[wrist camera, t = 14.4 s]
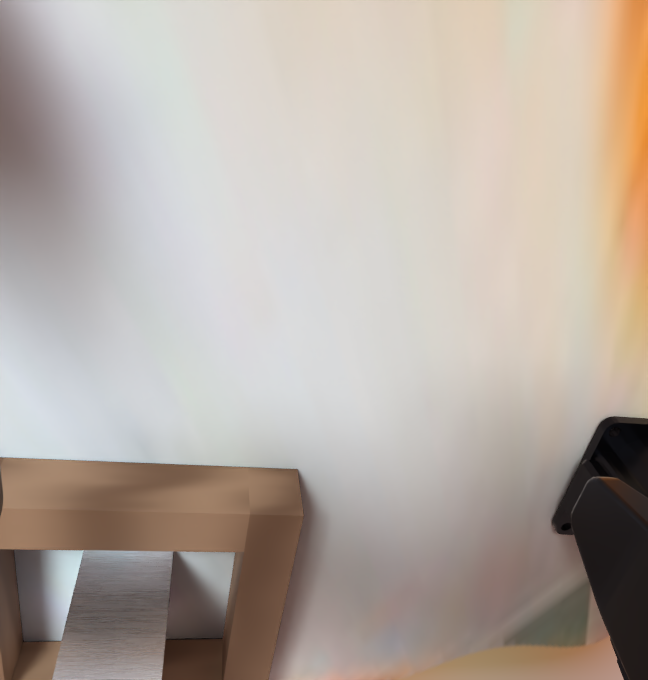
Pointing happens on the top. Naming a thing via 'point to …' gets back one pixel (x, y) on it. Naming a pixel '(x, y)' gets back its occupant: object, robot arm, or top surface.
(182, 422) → the top surface
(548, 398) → the top surface
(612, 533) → the robot arm
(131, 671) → the steel square peg
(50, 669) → the square wooden frame
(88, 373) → the top surface
